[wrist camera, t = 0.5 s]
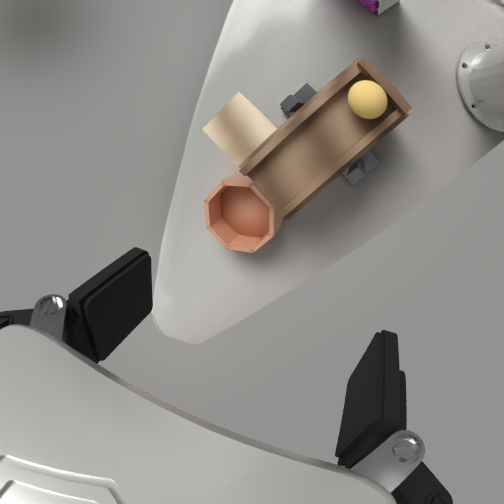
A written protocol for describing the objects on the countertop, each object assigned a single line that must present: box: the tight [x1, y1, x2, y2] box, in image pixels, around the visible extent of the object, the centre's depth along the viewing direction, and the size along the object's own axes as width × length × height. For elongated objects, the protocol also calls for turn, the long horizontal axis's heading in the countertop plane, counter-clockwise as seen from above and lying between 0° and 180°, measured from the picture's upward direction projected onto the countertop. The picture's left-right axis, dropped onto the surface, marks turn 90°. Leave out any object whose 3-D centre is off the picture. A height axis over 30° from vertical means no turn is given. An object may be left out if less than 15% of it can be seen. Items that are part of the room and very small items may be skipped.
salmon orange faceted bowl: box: [204, 173, 283, 253], centre depth 44 cm, size 10×10×5 cm
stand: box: [280, 83, 380, 185], centre depth 33 cm, size 5×14×9 cm, turn 46°
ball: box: [348, 80, 387, 119], centre depth 25 cm, size 4×4×4 cm
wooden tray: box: [202, 57, 412, 219], centre depth 30 cm, size 18×14×7 cm
